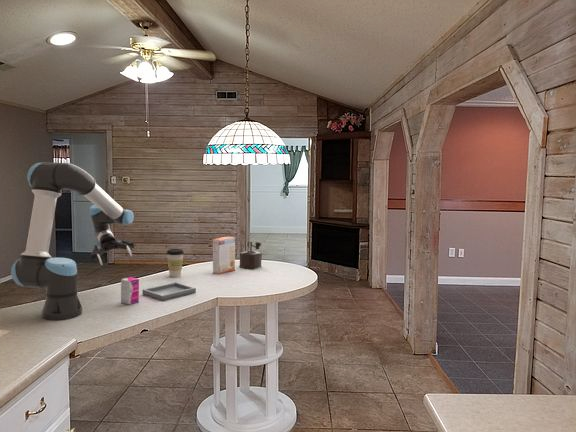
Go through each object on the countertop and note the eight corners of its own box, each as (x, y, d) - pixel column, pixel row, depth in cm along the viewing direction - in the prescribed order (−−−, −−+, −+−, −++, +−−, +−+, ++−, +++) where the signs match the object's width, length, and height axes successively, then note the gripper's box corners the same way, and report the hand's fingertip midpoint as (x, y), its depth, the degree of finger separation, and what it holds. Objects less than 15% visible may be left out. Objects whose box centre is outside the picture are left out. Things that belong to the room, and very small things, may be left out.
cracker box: (228, 269, 285) (228, 235, 283) (235, 270, 281) (235, 237, 279) (211, 272, 274) (212, 238, 271) (219, 274, 270) (219, 239, 268)
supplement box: (129, 305, 206) (128, 281, 205) (120, 303, 209) (120, 279, 208) (139, 302, 211) (139, 278, 210) (130, 300, 214) (130, 276, 213)
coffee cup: (179, 278, 258) (179, 252, 257) (163, 277, 260) (163, 251, 259) (186, 274, 268) (186, 249, 266) (171, 273, 270) (171, 248, 268)
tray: (162, 301, 214) (162, 295, 214) (142, 294, 224) (142, 289, 224) (195, 292, 230) (195, 287, 230) (175, 286, 240) (175, 282, 240)
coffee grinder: (238, 267, 290) (238, 239, 288) (248, 264, 300) (249, 237, 298) (258, 271, 282) (258, 242, 280) (268, 267, 291) (269, 240, 290)
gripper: (133, 239, 238) (144, 256, 221) (82, 254, 226) (90, 273, 210) (130, 226, 234) (141, 243, 218) (79, 240, 223) (86, 259, 207)
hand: (116, 258), depth 214 cm, fingers open, 13 cm apart
